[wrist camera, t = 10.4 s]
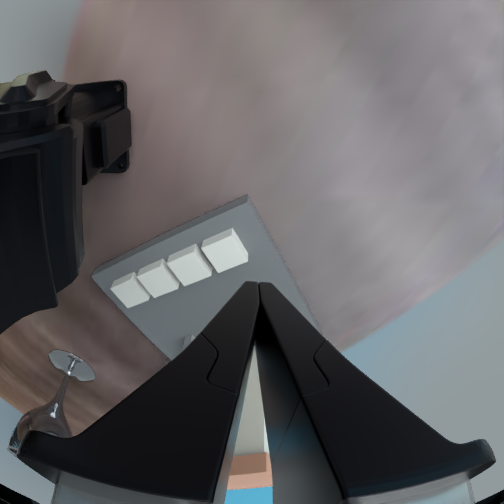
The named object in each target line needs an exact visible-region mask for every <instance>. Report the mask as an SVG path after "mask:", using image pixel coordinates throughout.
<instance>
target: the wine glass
mask: <svg viewBox="0 0 504 504" xmlns="http://www.w3.org/2000/svg"><path fill="white" fill-rule="evenodd" d="M48 358H49V361H50V362H51V364H52V365H53V366H54V368H55V369H57V370H58V371H59V372H60V373H62V374H63V375H65V376H64V379H63V381H62V383H61V386H60V388H59V390H58V391H57V393H56V395H55V396H54V398H53V399H52V400H51V401H50V402H49V403H47V404H45V405H43V406H40V407H37V408H35V409H32V410H30V411H28V412H26V413H25V414H24V415H23V416H22V417H21V419H20V420H19V421H18V423H17V425H16V426H15V428H14V430H13V433H12V434H11V437H10V439H9V442H8V445H7V450H8V451H9V452H10V453H11V454H13V455H14V456H16V453H17V450H18V447H19V445H20V442H21V441H22V439H23V437H24V435H25V434H26V432H27V431H29V430H38V431H42V432H45V433H48V434H51V435H54V436H57V437H62V438H70V437H73V434H72V431H71V429H70V427H69V424H68V422H67V420H66V417H65V414H64V411H63V399H64V394H65V390H66V387H67V384H68V382H69V379H73V380H75V381H79V382H92V381H93V380H94V379H95V373H94V371H93V369H92V368H91V367H90V366H89V365H88V364H87V363H86V362H85V361H84V360H82V359H81V358H79V357H77V356H76V355H74V354H71V353H69V352H66V351H63V350H52V351H50V352H49V354H48ZM16 457H17V456H16ZM17 458H18V457H17Z"/></svg>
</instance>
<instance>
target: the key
mask: <svg viewBox="0 0 504 504" xmlns="http://www.w3.org/2000/svg"><path fill="white" fill-rule="evenodd" d="M268 486H273V482H272V470H271V462H270V455H269V448H268V440H267V433H266V426H265V418H264V411H263V403H262V396H261V388H260V381H259V373H258V366H257V358H256V350H255V346H254V350H253V356H252V361H251V367H250V372H249V377H248V383H247V388H246V393H245V399H244V404H243V409H242V414H241V419H240V424H239V430H238V435H237V440H236V445H235V450H234V455H233V460H232V465H231V470H230V475H229V480H228V485H227V489H229V490H233V489H247V488H258V487H268Z"/></svg>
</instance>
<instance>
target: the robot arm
mask: <svg viewBox="0 0 504 504" xmlns="http://www.w3.org/2000/svg"><path fill="white" fill-rule="evenodd" d="M117 84H119V85H120V86H121V89H120V90H119V91H118V90H117V89H116V85H117ZM130 146H131V120H130V110H129V109H128V108H127V86H126V83H125V82H124V81H123V80H111V81H101V82H92V83H84V84H76V85H71V84H67V83H64V82H55V80H52V78H51V77H50V75H49V74H48V73H47V71H34V72H30V73H26V74H22V75H19V76H17V77H16V78H15V79H14V80H13V81H12V82H7V83H1V84H0V334H1V333H3V332H4V331H5V330H6V329H7V328H9V327H10V326H11V325H13V324H14V323H15V322H17V321H18V320H20V319H21V318H23V317H25V316H27V315H30V314H32V313H34V312H37V311H40V310H45V309H50V308H55V307H57V306H58V300H57V296H56V294H57V293H58V292H59V291H61V290H62V289H64V288H65V287H67V286H68V285H69V284H71V283H72V282H73V281H74V279H75V278H76V277H77V276H78V275H79V267H80V265H81V262H82V259H83V256H84V242H83V222H82V185H86V184H87V183H88V182H89V181H90V180H91V179H92V178H93V177H94V176H95V175H97V174H98V173H123V172H125V171H126V170H127V169H128V168H129V148H130ZM120 163H123V164H124V167H121V166H120ZM254 343H255V350H256V358H257V366H258V373H259V381H260V388H261V396H262V403H263V411H264V418H265V426H266V433H267V440H268V448H269V455H270V462H271V470H272V482H273V504H504V490H502V491H500V492H498V493H496V494H494V495H492V496H490V497H488V498H486V499H484V500H481V501H479V502H477V503H475V500H474V496H473V491H472V487H471V483H470V479H471V478H473V477H475V476H476V475H478V474H480V473H482V472H483V471H485V470H486V469H488V468H489V467H491V466H492V465H493V464H494V463H495V462H496V459H495V456H494V453H493V451H492V448H491V447H490V445H489V444H488V443H487V441H486V440H485V439H478V440H474V441H471V442H468V443H464V444H457V443H453V442H451V441H449V440H447V439H446V438H444V437H443V436H442V435H441V434H439V433H438V432H437V431H436V430H434V429H433V428H432V427H430V426H429V425H428V424H427V423H425V422H424V421H423V420H422V419H420V418H419V417H418V416H416V415H415V414H414V413H412V412H411V411H410V410H409V409H408V408H406V407H405V406H404V405H403V404H401V403H400V402H399V401H398V400H396V399H395V398H394V397H393V396H391V395H390V394H389V393H388V392H386V391H385V390H384V389H383V388H381V387H380V386H379V385H378V384H376V383H375V382H374V381H373V380H371V379H370V378H369V377H367V376H366V375H365V374H364V373H363V372H362V371H360V370H359V369H358V368H357V367H356V366H354V365H353V364H352V363H351V362H350V361H349V360H347V359H346V358H345V357H344V356H343V355H342V354H341V353H340V352H339V351H338V350H337V349H336V348H335V347H334V346H333V345H332V344H331V343H330V342H329V341H328V340H326V339H325V338H324V337H323V335H322V334H321V333H320V332H319V331H318V330H317V329H316V328H315V327H314V326H313V325H312V324H311V323H310V322H309V321H308V320H307V319H306V318H305V317H304V316H303V315H302V314H301V313H300V312H299V311H298V310H297V309H296V307H295V306H294V305H293V304H292V303H291V302H290V301H289V300H288V299H287V298H286V297H285V296H284V295H283V294H282V293H281V292H280V291H279V290H278V289H277V288H276V287H275V286H274V285H273V284H272V283H271V282H259V284H258V282H256V281H245V282H244V283H243V284H242V285H241V287H240V288H239V289H238V290H237V291H236V292H235V293H234V295H233V296H232V297H231V298H230V299H229V300H228V301H227V303H226V304H225V305H224V306H223V307H222V308H221V309H220V311H219V312H218V313H217V314H216V315H215V316H214V317H213V319H212V320H211V321H210V322H209V323H208V324H207V325H206V326H205V328H204V329H203V330H202V331H201V332H200V333H199V334H198V335H197V336H196V337H195V338H194V340H193V341H192V342H191V343H190V344H189V345H188V346H187V347H186V348H185V349H184V350H183V351H182V352H181V353H180V354H178V355H177V356H176V357H175V358H174V359H173V360H172V361H170V362H169V363H168V364H167V365H166V366H164V367H163V368H162V369H161V370H159V371H158V372H157V373H156V374H155V375H153V376H152V377H151V378H150V379H148V380H147V381H146V382H145V383H143V384H142V385H141V386H140V387H139V388H137V389H136V390H135V391H134V392H132V393H131V394H130V395H129V396H127V397H126V398H125V399H124V400H122V401H121V402H120V403H119V404H117V405H116V406H115V407H114V408H112V409H111V410H110V411H108V412H107V413H106V414H105V415H103V416H102V417H101V418H100V419H98V420H97V421H96V422H94V423H93V424H92V425H91V426H89V427H88V428H87V429H85V430H84V431H83V432H82V433H80V434H78V435H77V436H74V437H70V438H62V437H57V436H54V435H51V434H48V433H45V432H42V431H38V430H29V431H27V432H26V434H25V435H24V437H23V439H22V441H21V442H20V445H19V447H18V450H17V453H16V456H17V457H18V458H19V459H20V460H21V461H22V462H24V463H25V464H26V465H28V466H29V467H30V468H32V469H33V470H34V471H36V472H38V473H39V474H40V475H42V476H43V477H45V478H46V479H48V480H49V481H51V482H52V483H54V484H55V487H54V491H53V495H52V499H51V504H224V501H225V496H226V490H227V485H228V480H229V475H230V470H231V465H232V460H233V455H234V450H235V445H236V440H237V435H238V430H239V424H240V419H241V414H242V409H243V404H244V399H245V393H246V388H247V383H248V377H249V372H250V367H251V361H252V356H253V350H254ZM0 504H39V503H38V502H36V501H34V500H32V499H30V498H28V497H26V496H23V495H21V494H19V493H17V492H15V491H13V490H11V489H9V488H7V487H5V486H4V485H2V484H0Z"/></svg>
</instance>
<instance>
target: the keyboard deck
mask: <svg viewBox="0 0 504 504" xmlns="http://www.w3.org/2000/svg"><path fill="white" fill-rule="evenodd" d="M91 277H92V279H93V280H94V281H95V282H96V283H97V284H98V285H99V287H100V288H101V289H102V290H103V291H104V292H105V293H106V294H107V296H108V297H109V298H110V299H111V300H112V301H113V302H114V303H115V304H116V305H117V306H118V308H119V309H120V310H121V311H122V312H123V313H124V314H125V315H126V316H127V317H128V318H129V319H130V320H131V321H132V322H133V323H134V324H135V325H136V326H137V327H138V328H139V329H140V330H141V331H142V332H143V333H144V334H145V335H146V336H147V337H148V338H149V339H150V340H151V341H152V342H153V343H154V344H155V345H156V346H157V347H158V348H159V349H160V350H161V351H162V352H163V353H164V354H165V355H166V356H167V357H168V358H169V359H170V360H171V361H172V360H173V359H174V358H175V357H176V356H177V355H178V354H180V353H181V352H182V351H183V350H184V349H185V348H186V347H187V346H188V345H189V344H190V343H191V342H192V341H193V340H194V338H195V337H196V336H197V335H198V334H199V333H200V332H201V331H202V330H203V329H204V328H205V326H206V325H207V324H208V323H209V322H210V321H211V320H212V319H213V317H214V316H215V315H216V314H217V313H218V312H219V311H220V309H221V308H222V307H223V306H224V305H225V304H226V303H227V301H228V300H229V299H230V298H231V297H232V296H233V295H234V293H235V292H236V291H237V290H238V289H239V288H240V287H241V285H242V284H243V283H244V282H245V281H256V282H258V284H259V282H271V283H272V284H273V285H274V286H275V287H276V288H277V289H278V290H279V291H280V292H281V293H282V294H283V295H284V296H285V297H286V298H287V299H288V300H289V301H290V302H291V303H292V304H293V305H294V306H295V307H296V309H297V310H298V311H299V312H300V313H301V314H302V315H303V316H304V317H305V318H306V319H307V320H308V321H309V322H310V323H311V324H312V325H313V326H314V327H315V328H316V329H317V330H318V331H319V332H320V333H321V334H322V335H323V333H322V331H321V329H320V327H319V325H318V323H317V321H316V320H315V318H314V316H313V314H312V312H311V310H310V308H309V306H308V304H307V302H306V301H305V299H304V297H303V295H302V293H301V291H300V289H299V287H298V286H297V284H296V282H295V280H294V278H293V276H292V274H291V273H290V271H289V269H288V267H287V265H286V263H285V261H284V260H283V258H282V256H281V254H280V252H279V250H278V248H277V247H276V245H275V243H274V241H273V239H272V237H271V236H270V234H269V232H268V230H267V228H266V227H265V225H264V223H263V221H262V219H261V217H260V216H259V214H258V212H257V210H256V208H255V207H254V205H253V203H252V201H251V199H250V198H249V196H248V195H245V196H243V197H241V198H239V199H236V200H234V201H232V202H230V203H228V204H225V205H223V206H221V207H219V208H217V209H215V210H212V211H210V212H208V213H206V214H204V215H202V216H200V217H197V218H195V219H193V220H191V221H189V222H187V223H185V224H183V225H181V226H179V227H176V228H174V229H172V230H170V231H168V232H166V233H164V234H162V235H160V236H158V237H156V238H154V239H152V240H150V241H148V242H146V243H144V244H142V245H140V246H138V247H136V248H134V249H132V250H130V251H128V252H126V253H124V254H122V255H120V256H118V257H116V258H114V259H112V260H110V261H109V262H107V263H105V264H103V265H101V266H99V267H97V268H96V269H95V270H94V272H93V274H92V276H91ZM254 346H255V343H254Z"/></svg>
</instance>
